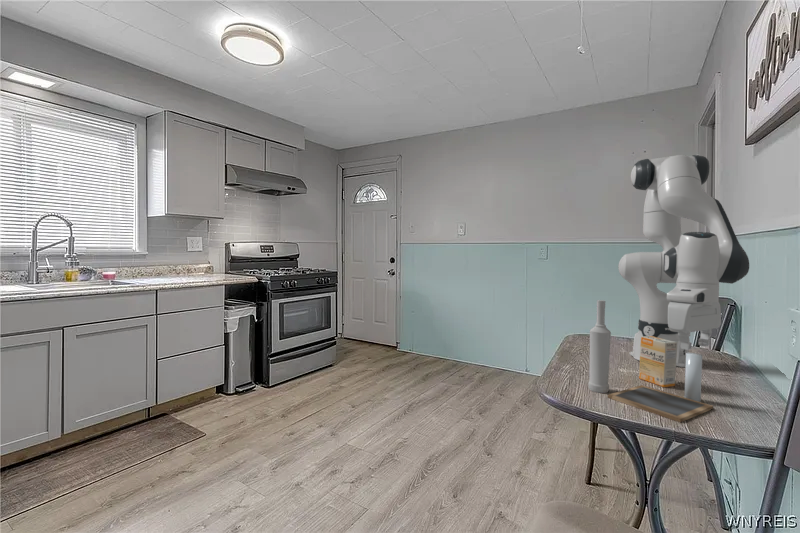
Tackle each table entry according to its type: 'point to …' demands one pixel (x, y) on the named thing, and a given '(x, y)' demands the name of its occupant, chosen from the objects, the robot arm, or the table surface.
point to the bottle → (599, 352)
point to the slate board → (661, 403)
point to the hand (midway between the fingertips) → (694, 347)
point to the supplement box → (658, 361)
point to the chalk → (693, 376)
